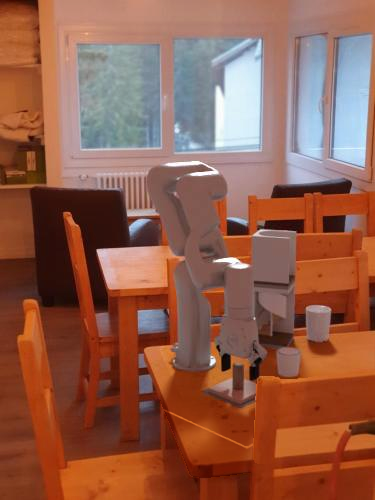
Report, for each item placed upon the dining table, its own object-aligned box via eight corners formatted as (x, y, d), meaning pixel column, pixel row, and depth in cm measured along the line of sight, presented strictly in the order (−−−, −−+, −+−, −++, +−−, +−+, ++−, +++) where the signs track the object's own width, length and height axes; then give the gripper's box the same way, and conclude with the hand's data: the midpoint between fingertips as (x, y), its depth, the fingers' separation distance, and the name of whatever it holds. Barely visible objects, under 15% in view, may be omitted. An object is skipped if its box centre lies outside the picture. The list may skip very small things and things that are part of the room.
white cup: (304, 342, 222) (305, 312, 219) (305, 333, 229) (305, 304, 227) (330, 343, 220) (331, 313, 218) (329, 335, 228) (330, 305, 226)
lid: (208, 391, 185) (208, 364, 184) (236, 379, 193) (236, 353, 191) (240, 404, 178) (240, 376, 176) (267, 391, 185) (268, 364, 184)
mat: (200, 393, 186) (200, 391, 186) (235, 377, 195) (235, 376, 195) (240, 409, 176) (240, 408, 176) (275, 392, 186) (275, 391, 185)
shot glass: (299, 380, 193) (300, 356, 192) (274, 378, 195) (275, 354, 193) (300, 370, 200) (301, 347, 198) (276, 368, 201) (277, 345, 200)
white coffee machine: (250, 345, 219) (251, 235, 211) (258, 334, 229) (260, 229, 221) (286, 350, 215) (289, 238, 207) (293, 338, 225) (296, 231, 217)
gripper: (204, 308, 184) (206, 370, 187) (256, 321, 172) (256, 387, 175) (224, 302, 189) (225, 363, 192) (275, 314, 177) (275, 379, 180)
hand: (239, 374), depth 184 cm, fingers open, 9 cm apart
